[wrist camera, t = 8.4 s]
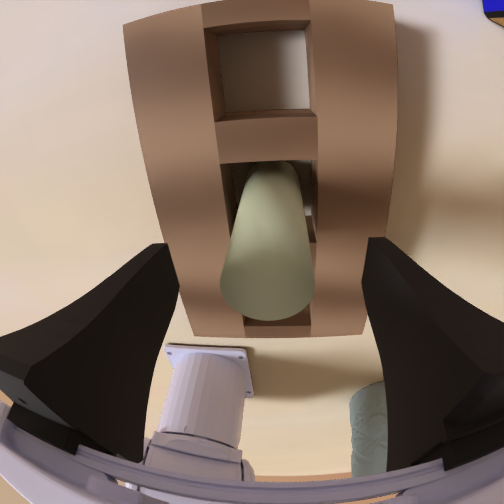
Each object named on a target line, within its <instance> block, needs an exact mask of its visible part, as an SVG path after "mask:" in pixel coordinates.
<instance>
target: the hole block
mask: <svg viewBox="0 0 504 504" xmlns="http://www.w3.org/2000/svg"><path fill="white" fill-rule="evenodd" d="M275 30H305V38H306V50H307V64H308V79H309V98H310V109H281V110H261V111H246V112H234V113H225V106H224V97H223V88H222V79H221V70H220V61H219V52H218V42H217V36H220V35H228V34H236V33H246V32H258V31H275ZM123 33H124V42H125V51H126V59H127V67H128V74H129V81H130V88H131V94H132V100H133V106H134V112H135V117H136V123H137V128H138V133H139V138H140V143H141V148H142V153H143V158H144V162H145V167H146V171H147V176H148V180H149V184H150V189H151V193H152V197H153V201H154V205H155V209H156V213H157V217H158V220H159V224H160V228H161V231H162V235H163V239H164V242H165V243H168V246H169V250H170V253H171V257H172V260H173V264H174V267H175V271H176V274H177V277H178V281H179V284H180V288H179V292H180V295H181V298H182V301H183V304H184V307H185V310H186V313H187V316H188V319H189V322H190V325H191V328H192V331H193V333H194V336H200V337H228V338H300V337H327V336H346V335H360V334H362V333H363V330H364V326H365V322H366V319H367V315H368V313H367V310H366V307H365V301H364V296H363V290H362V285H361V280H362V275H363V269H364V263H365V257H366V251H367V244H368V237H385V232H386V226H387V219H388V213H389V206H390V198H391V190H392V182H393V173H394V162H395V150H396V135H397V112H398V67H397V45H396V31H395V20H394V11H393V5H392V4H387V3H381V2H375V1H368V0H223V1H216V2H210V3H204V4H199V5H194V6H189V7H184V8H180V9H176V10H171V11H167V12H164V13H160V14H156V15H153V16H149V17H146V18H143V19H139V20H136V21H133V22H130V23H127V24H124V25H123ZM277 160H311V166H312V206H311V216H305V219H306V225H307V232H308V238H309V245H310V251H311V258H312V265H313V273H314V280H315V291H314V295H313V297H312V299H311V301H310V302H309V304H308V305H307V306H306V307H305V308H304V309H303V310H302V311H300V312H299V313H297V314H295V315H293V316H291V317H288V318H285V319H281V320H273V321H265V320H257V319H253V318H249V317H247V316H244V315H242V314H240V313H238V312H237V311H235V310H234V309H233V308H232V307H230V306H229V304H228V303H227V302H226V301H225V299H224V298H223V296H222V293H221V290H220V278H221V273H222V269H223V266H224V262H225V258H226V254H227V250H228V246H229V242H230V238H231V235H232V231H233V227H234V223H235V219H236V216H237V207H236V199H235V191H234V182H233V174H232V166H231V163H239V162H255V161H277Z"/></svg>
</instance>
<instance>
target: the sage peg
mask: <svg viewBox="0 0 504 504" xmlns="http://www.w3.org/2000/svg"><path fill="white" fill-rule="evenodd" d="M220 290H221V293H222V296H223V298H224V299H225V301H226V302H227V303H228V304H229V306H230V307H232V308H233V309H234V310H235V311H237V312H238V313H240V314H242V315H244V316H247V317H249V318H253V319H257V320H265V321H273V320H281V319H285V318H288V317H291V316H293V315H295V314H297V313H299V312H300V311H302V310H303V309H304V308H305V307H306V306H307V305H308V304H309V302H310V301H311V299H312V297H313V295H314V291H315V280H314V273H313V265H312V258H311V251H310V245H309V238H308V232H307V225H306V219H305V213H304V207H303V201H302V195H301V190H300V184H299V179H298V175H297V172H296V171H295V169H294V168H293V166H292V165H290V164H289V163H288V162H286V161H284V160H277V161H259V162H257V163H256V164H254V165H253V166H252V168H251V169H250V171H249V173H248V175H247V179H246V182H245V186H244V190H243V193H242V197H241V201H240V205H239V208H238V212H237V216H236V219H235V223H234V227H233V231H232V235H231V238H230V242H229V246H228V250H227V254H226V258H225V262H224V266H223V269H222V273H221V278H220Z"/></svg>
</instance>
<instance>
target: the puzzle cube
mask: <svg viewBox="0 0 504 504" xmlns="http://www.w3.org/2000/svg"><path fill="white" fill-rule="evenodd" d="M482 2H483V8H484V14H485V15H486V16H487V18H488V19H490V20H492V21H494V22H496V23H498V24H500V25H502V26H504V0H482Z"/></svg>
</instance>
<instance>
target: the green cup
mask: <svg viewBox="0 0 504 504" xmlns="http://www.w3.org/2000/svg"><path fill="white" fill-rule="evenodd" d="M350 423H351V427H352V438H351V442H352V448H353V451H352V455H351V467H352V478H354V477H361V476H368V475H374V474H379V473H385V472H386V466H387V447H388V424H387V404H386V392H385V383H384V381H382V382H378V383H374V384H372V385H369V386H367V387H365V388H363V389H361V390H360V391H358V392H357V393H356V394H354V395H353V397H352V398H351V400H350Z"/></svg>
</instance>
